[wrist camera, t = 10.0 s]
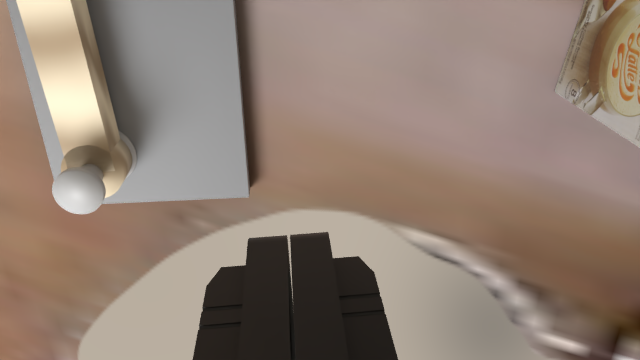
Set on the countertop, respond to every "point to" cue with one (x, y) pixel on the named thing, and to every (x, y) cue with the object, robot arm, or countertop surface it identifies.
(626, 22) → the coffee box
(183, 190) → the hinge plate
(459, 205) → the countertop surface
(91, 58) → the link
